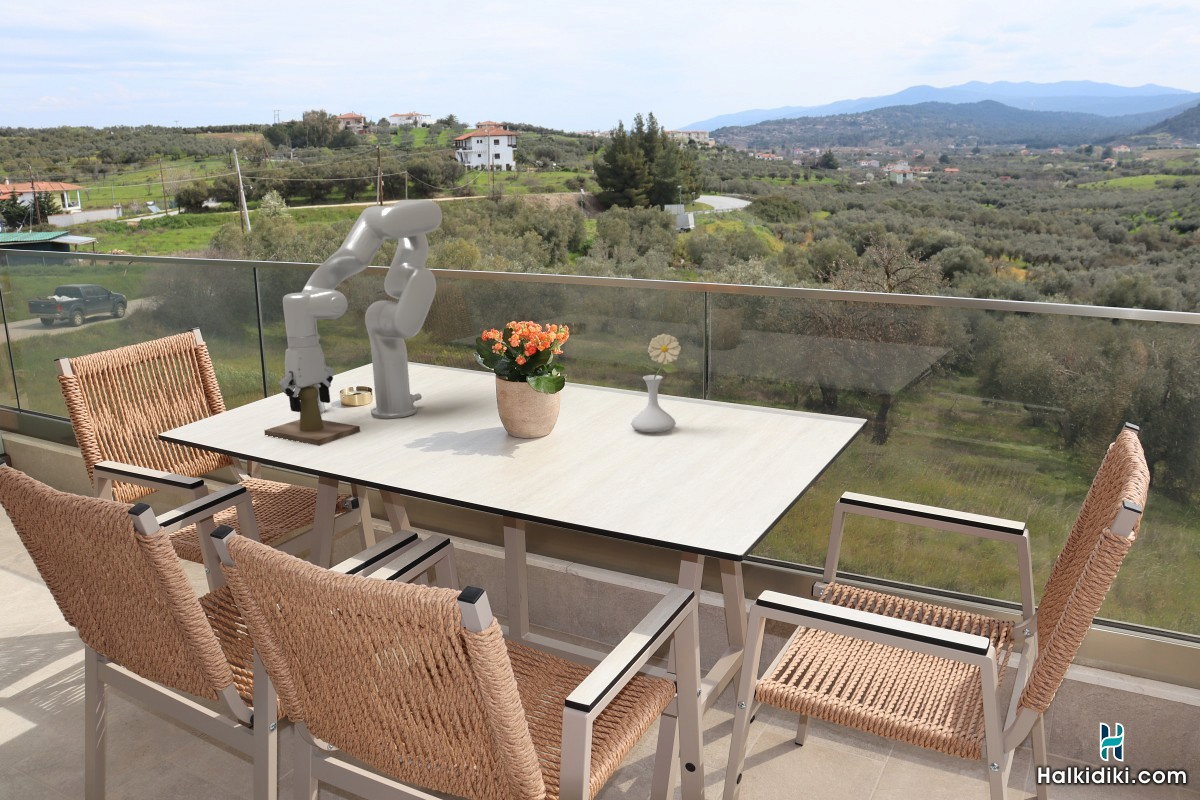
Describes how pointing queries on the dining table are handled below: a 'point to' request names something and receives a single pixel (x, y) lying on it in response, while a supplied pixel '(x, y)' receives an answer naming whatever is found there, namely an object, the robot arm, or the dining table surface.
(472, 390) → the dining table surface
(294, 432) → the walnut board
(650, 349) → the flower in vase
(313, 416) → the olive brown tapered piece
